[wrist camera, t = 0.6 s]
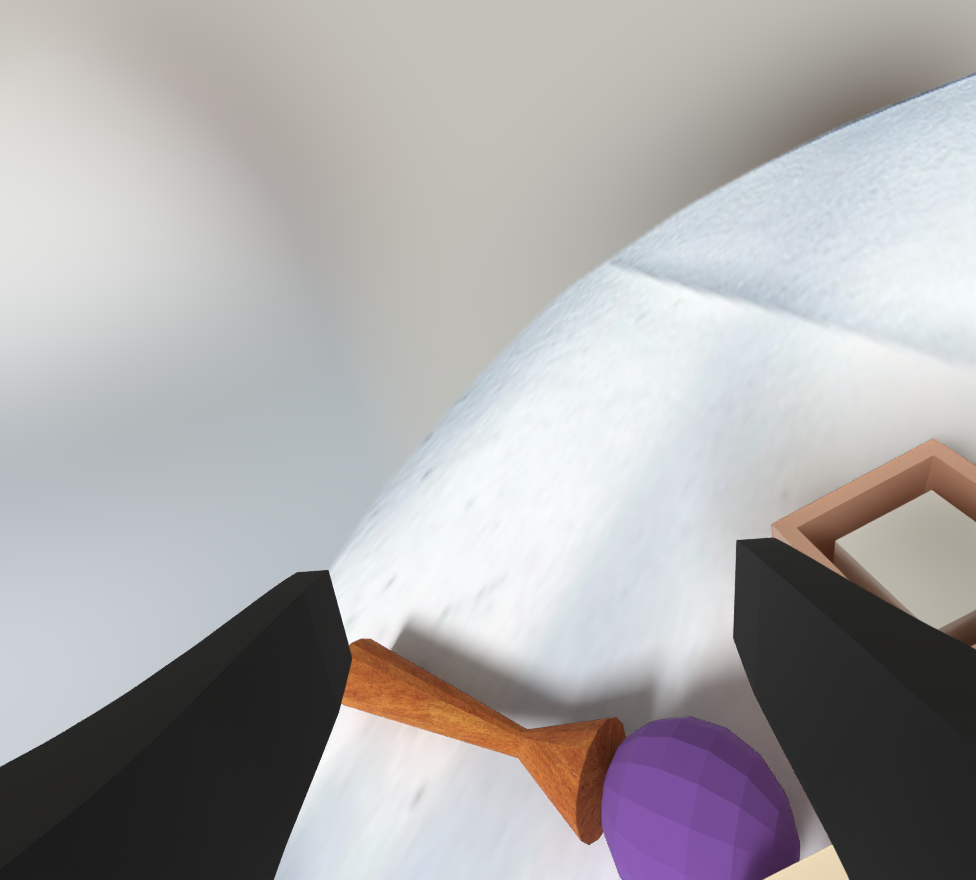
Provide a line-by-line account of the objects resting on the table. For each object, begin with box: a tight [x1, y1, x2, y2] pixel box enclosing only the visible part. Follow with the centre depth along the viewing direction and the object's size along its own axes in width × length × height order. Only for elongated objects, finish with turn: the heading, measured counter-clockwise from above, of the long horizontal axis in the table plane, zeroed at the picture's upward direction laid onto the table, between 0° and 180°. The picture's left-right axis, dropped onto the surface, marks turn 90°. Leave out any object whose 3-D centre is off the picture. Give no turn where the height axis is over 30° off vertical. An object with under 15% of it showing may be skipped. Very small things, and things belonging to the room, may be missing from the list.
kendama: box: [341, 639, 800, 880], centre depth 22 cm, size 6×6×20 cm
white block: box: [833, 490, 976, 646], centre depth 20 cm, size 4×4×4 cm
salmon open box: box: [772, 438, 976, 649], centre depth 20 cm, size 7×7×5 cm
